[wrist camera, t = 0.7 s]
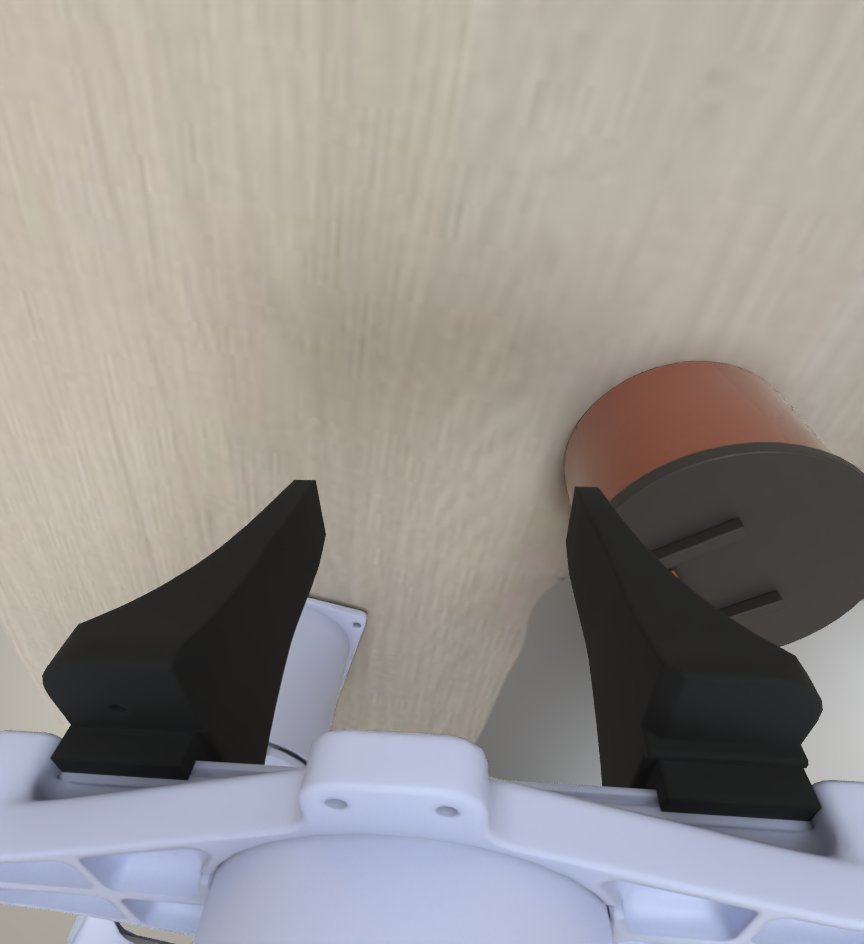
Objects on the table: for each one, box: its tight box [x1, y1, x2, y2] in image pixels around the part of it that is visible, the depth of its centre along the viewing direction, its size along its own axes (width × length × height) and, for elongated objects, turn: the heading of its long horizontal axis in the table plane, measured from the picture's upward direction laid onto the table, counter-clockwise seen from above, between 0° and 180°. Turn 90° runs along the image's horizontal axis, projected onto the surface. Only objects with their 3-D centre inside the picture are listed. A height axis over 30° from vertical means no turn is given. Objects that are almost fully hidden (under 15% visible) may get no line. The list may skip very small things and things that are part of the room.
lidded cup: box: [564, 361, 864, 647], centre depth 23 cm, size 11×11×8 cm
